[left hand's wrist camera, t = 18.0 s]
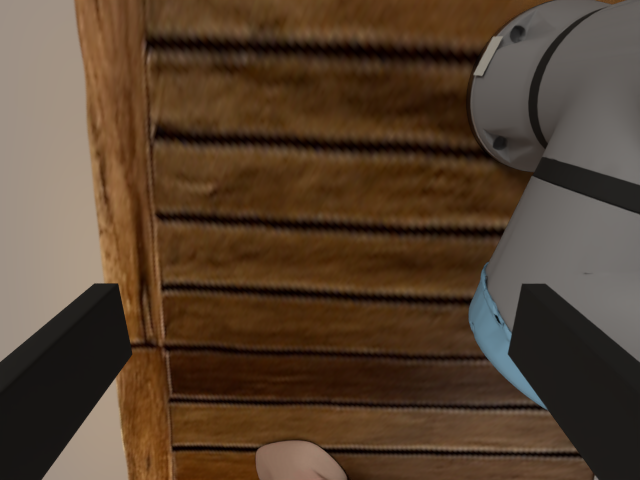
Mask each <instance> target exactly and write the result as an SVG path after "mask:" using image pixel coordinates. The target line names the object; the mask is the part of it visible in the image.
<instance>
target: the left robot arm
mask: <svg viewBox="0 0 640 480" xmlns="http://www.w3.org/2000/svg"><path fill="white" fill-rule="evenodd" d="M466 106H467V116H468V121H469V124H470V127H471V130H472V133H473V135H474V137H475V139H476V140H477V142H478V143H479V145H480V146H481V147H482V149H483V150H484V151H485V152H486V153H487V154H488V155H490V156H491V157H492V158H494V159H495V160H497V161H498V162H500V163H502V164H505V165H507V166H510V167H512V168H515V169H519V170H522V171H529V172H534V174H533V176H532V177H531V179H530V181H529V183H528V185H527V187H526V189H525V191H524V193H523V195H522V197H521V199H520V201H519V203H518V205H517V207H516V209H515V211H514V213H513V215H512V217H511V219H510V221H509V223H508V225H507V227H506V229H505V231H504V233H503V235H502V237H501V239H500V241H499V243H498V245H497V248H496V250H495V252H494V253H493V255H492V257H491V259H490V261H489V262H487V263H486V264H485V266H484V268H483V270H482V273H481V280H480V283H479V285H478V288H477V290H476V292H475V295H474V297H473V299H472V302H471V304H470V308H469V323H470V326H471V329H472V331H473V333H474V337H475V340H476V342H477V344H478V345H479V347H480V349H481V350H482V352H483V353H484V354H485V356H486V357H487V358H488V360H489V361H490V362H491V363H492V364H493V366H494V367H495V368H496V369H497V370H498V371H499V372H500V373H501V374H502V375H503V376H504V377H505V378H506V379H507V380H508V381H509V382H510V383H512V384H513V385H514V386H515V387H516V388H517V389H518V390H520V391H521V392H522V393H523V394H525V395H526V396H527V397H529V398H530V399H531V400H533V401H534V402H536V403H537V404H539V405H540V406H542V407H543V408H545V409H547V410H548V411H549V412H550V413H551V415H552V416H553V418H554V419H555V420H556V422H557V423H558V425H559V426H560V427H561V429H562V430H563V431H564V433H565V434H566V436H567V437H568V438H569V440H570V441H571V442H572V444H573V445H574V447H575V448H576V449H577V451H578V452H579V454H580V455H581V456H582V458H583V459H584V460H585V462H586V463H587V465H588V466H589V467H590V469H591V470H592V471H593V473H594V474H595V476H596V477H597V478H598V480H640V0H626V1H623V2H620V3H617V4H614V5H611V4H607V3H603V2H599V1H595V0H553V1H549V2H546V3H543V4H540V5H538V6H535V7H533V8H530V9H528V10H526V11H524V12H522V13H520V14H519V15H517V16H515V17H514V18H512V19H511V20H510V21H508V22H507V23H506V24H504V25H503V26H502V27H501V28H500V29H499V30H498V31H497V32H496V33H495V34H494V35H493V36H492V37H491V39H490V40H489V41H488V42H487V44H486V45H485V47H484V48H483V50H482V51H481V53H480V55H479V56H478V58H477V60H476V63H475V65H474V67H473V70H472V73H471V76H470V79H469V83H468V89H467V99H466ZM131 356H132V350H131V345H130V340H129V335H128V330H127V325H126V320H125V315H124V310H123V305H122V300H121V296H120V291H119V286H118V284H93V285H92V286H91V287H90V288H89V289H87V290H86V291H85V292H84V293H83V294H81V295H80V296H79V297H78V298H77V299H75V300H74V301H73V302H72V303H71V304H69V305H68V306H67V307H66V308H65V309H63V310H62V311H61V312H60V313H59V314H57V315H56V316H55V317H54V318H53V319H51V320H50V321H49V322H48V323H47V324H45V325H44V326H43V327H42V328H41V329H39V330H38V331H37V332H36V333H35V334H33V335H32V336H31V337H30V338H29V339H27V340H26V341H25V342H24V343H23V344H21V345H20V346H19V347H18V348H17V349H15V350H14V351H13V352H12V353H11V354H9V355H8V356H7V357H6V358H5V359H3V360H2V361H1V362H0V480H42V478H43V477H44V476H45V474H46V473H47V471H48V470H49V469H50V467H51V466H52V465H53V463H54V462H55V460H56V459H57V458H58V456H59V455H60V454H61V452H62V451H63V449H64V448H65V447H66V445H67V444H68V442H69V441H70V440H71V438H72V437H73V436H74V434H75V433H76V431H77V430H78V429H79V427H80V426H81V425H82V423H83V422H84V420H85V419H86V418H87V416H88V415H89V413H90V412H91V411H92V409H93V408H94V407H95V405H96V404H97V402H98V401H99V400H100V398H101V397H102V396H103V394H104V393H105V391H106V390H107V389H108V387H109V386H110V384H111V383H112V382H113V380H114V379H115V378H116V376H117V375H118V373H119V372H120V371H121V369H122V368H123V367H124V365H125V364H126V362H127V361H128V360H129V358H130V357H131Z"/></svg>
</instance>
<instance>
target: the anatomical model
mask: <svg viewBox="0 0 640 480" xmlns="http://www.w3.org/2000/svg"><path fill="white" fill-rule="evenodd" d="M256 468H257V472H258V476H259V478H260V480H347V477H346V474H345V473H344V471H343V470H342V468H341V467H340V466H339V465H338V463H337V462H336V461H335V460H334V459H333V458H332V457H331V456H330V455H329V454H328V453H326V452H325V451H324V450H323V449H321V448H320V447H319V446H317V445H315V444H313V443H310V442H307V441H299V440H292V441H282V442H276V443H271V444H268V445H264V446H262V447H260V448H259V449H258V450H257V452H256Z"/></svg>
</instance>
